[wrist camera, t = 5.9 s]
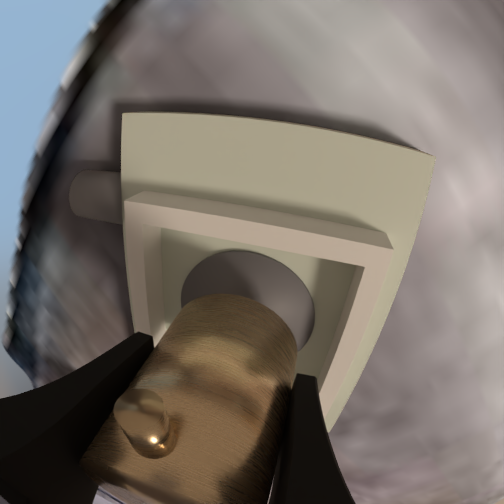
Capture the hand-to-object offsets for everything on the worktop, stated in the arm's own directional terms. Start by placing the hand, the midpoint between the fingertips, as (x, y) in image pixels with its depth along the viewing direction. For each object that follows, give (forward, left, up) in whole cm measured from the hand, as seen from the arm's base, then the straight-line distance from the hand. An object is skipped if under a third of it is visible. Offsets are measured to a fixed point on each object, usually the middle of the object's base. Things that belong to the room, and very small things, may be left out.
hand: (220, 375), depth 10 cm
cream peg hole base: (-2, 0, -6) cm, 6 cm away
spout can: (0, 0, -2) cm, 2 cm away
